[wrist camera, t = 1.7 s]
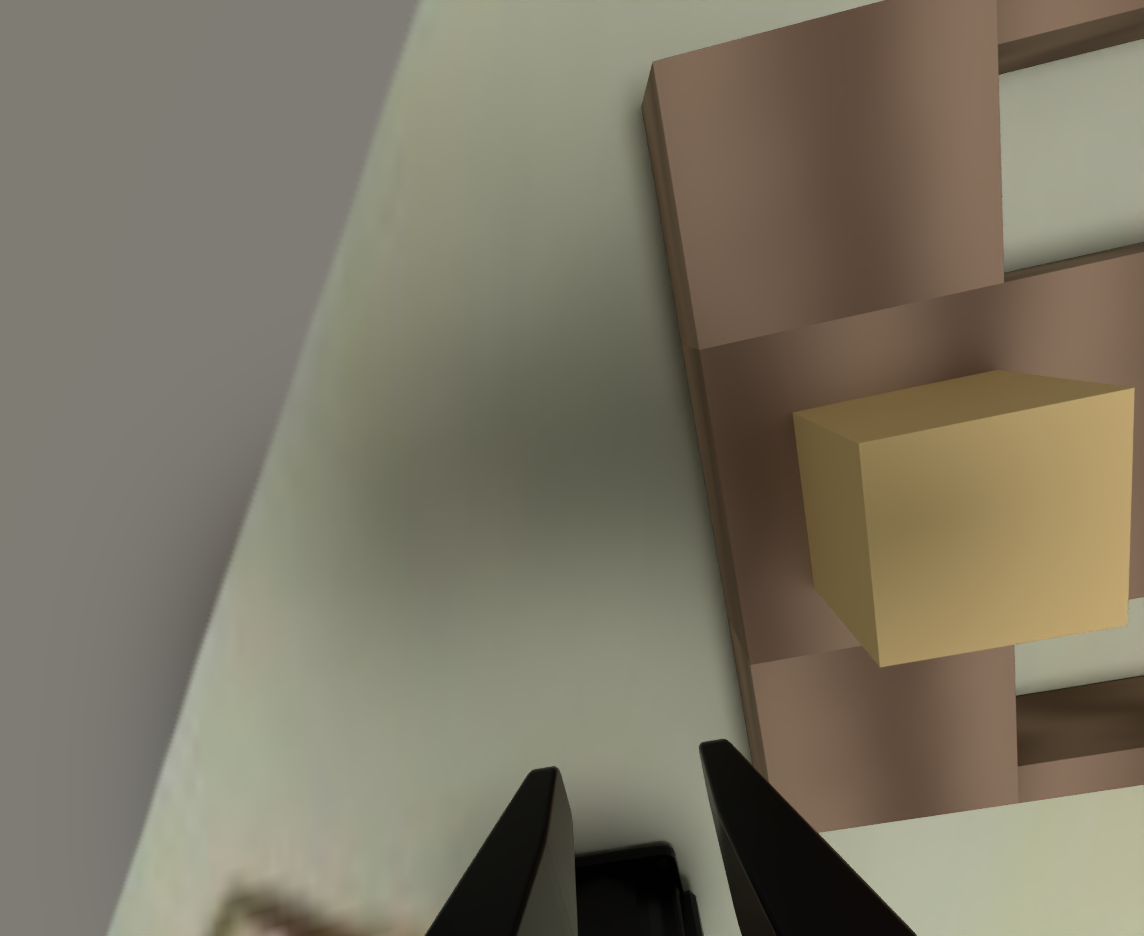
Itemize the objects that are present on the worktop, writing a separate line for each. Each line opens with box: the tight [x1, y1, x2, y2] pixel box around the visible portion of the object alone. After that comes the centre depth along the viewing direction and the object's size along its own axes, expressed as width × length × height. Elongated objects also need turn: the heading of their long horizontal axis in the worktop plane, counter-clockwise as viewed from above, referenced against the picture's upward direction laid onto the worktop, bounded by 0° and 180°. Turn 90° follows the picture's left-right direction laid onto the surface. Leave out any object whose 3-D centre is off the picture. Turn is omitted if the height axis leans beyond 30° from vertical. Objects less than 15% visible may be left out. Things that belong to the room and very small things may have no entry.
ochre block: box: [793, 370, 1135, 667], centre depth 14 cm, size 6×6×4 cm
